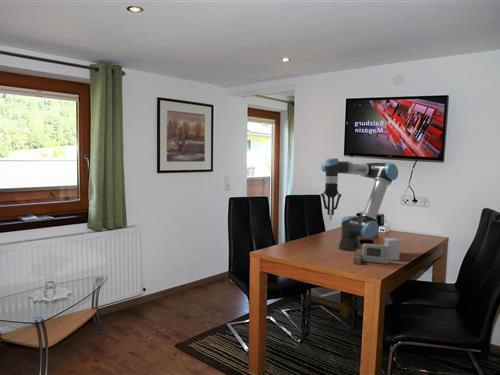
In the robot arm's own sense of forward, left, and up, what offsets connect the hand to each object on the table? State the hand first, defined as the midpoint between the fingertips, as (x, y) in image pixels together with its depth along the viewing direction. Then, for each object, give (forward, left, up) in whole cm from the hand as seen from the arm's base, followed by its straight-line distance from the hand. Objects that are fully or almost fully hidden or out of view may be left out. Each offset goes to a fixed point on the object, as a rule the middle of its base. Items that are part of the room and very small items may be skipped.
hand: (330, 220), depth 249 cm
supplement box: (-13, +37, -25) cm, 46 cm away
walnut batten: (-3, +18, -24) cm, 30 cm away
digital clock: (-1, +28, -25) cm, 37 cm away
